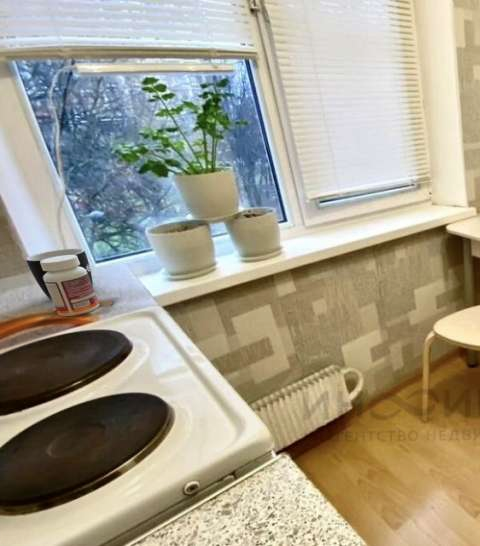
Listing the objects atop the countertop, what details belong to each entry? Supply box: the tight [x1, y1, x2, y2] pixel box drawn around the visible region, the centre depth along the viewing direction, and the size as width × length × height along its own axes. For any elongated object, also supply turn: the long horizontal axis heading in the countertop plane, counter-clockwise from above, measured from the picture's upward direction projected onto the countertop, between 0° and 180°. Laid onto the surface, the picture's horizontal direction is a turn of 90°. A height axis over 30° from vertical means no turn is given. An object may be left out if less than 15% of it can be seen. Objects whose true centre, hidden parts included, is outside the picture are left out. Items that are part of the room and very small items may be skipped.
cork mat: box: [49, 299, 115, 317], centre depth 86 cm, size 9×8×1 cm
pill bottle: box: [40, 255, 100, 317], centre depth 84 cm, size 6×6×11 cm
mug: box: [25, 248, 94, 301], centre depth 94 cm, size 12×9×10 cm
